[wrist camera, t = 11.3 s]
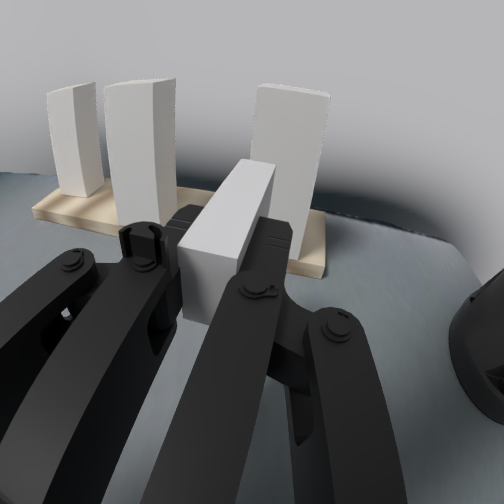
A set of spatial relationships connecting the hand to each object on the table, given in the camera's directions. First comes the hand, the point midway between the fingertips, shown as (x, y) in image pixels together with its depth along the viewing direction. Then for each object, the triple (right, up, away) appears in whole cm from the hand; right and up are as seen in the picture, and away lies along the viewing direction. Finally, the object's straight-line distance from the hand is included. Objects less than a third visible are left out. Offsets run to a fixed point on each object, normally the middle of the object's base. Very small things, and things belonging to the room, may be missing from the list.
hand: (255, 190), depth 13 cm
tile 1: (+2, -2, +15) cm, 15 cm away
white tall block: (-11, +1, +16) cm, 19 cm away
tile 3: (-23, +6, +21) cm, 31 cm away
